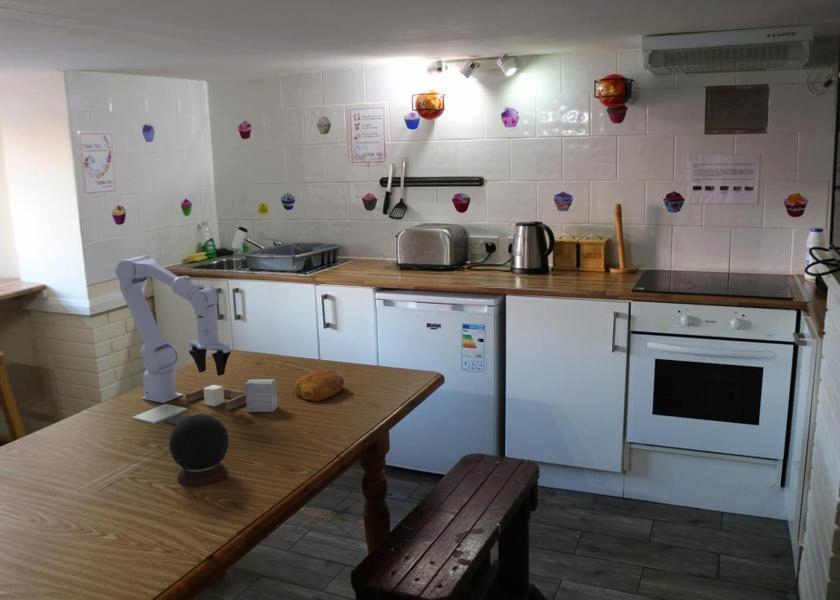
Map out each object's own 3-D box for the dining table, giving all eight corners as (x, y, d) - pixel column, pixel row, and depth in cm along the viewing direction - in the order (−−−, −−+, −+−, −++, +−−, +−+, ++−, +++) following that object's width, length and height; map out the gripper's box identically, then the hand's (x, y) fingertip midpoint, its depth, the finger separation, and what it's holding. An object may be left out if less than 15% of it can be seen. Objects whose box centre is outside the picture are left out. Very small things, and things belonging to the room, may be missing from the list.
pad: (132, 419, 215) (132, 417, 214) (165, 405, 225) (165, 403, 225) (154, 424, 210) (154, 422, 210) (187, 410, 220) (186, 408, 220)
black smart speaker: (243, 469, 179) (237, 409, 176) (206, 493, 167) (200, 429, 164) (199, 461, 184) (193, 403, 181) (160, 483, 173) (153, 422, 170)
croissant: (351, 396, 234) (353, 371, 234) (319, 405, 221) (321, 378, 220) (316, 388, 242) (317, 363, 241) (282, 396, 229) (284, 370, 228)
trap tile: (163, 422, 211) (163, 421, 211) (180, 415, 216) (180, 414, 216) (179, 425, 208) (178, 424, 208) (195, 418, 213) (195, 417, 213)
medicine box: (277, 407, 221) (275, 378, 219) (273, 412, 216) (271, 383, 214) (251, 406, 221) (249, 378, 220) (246, 412, 217) (244, 383, 215)
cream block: (204, 404, 225) (203, 388, 224) (214, 400, 228) (213, 384, 227) (214, 406, 223) (213, 390, 222) (224, 402, 226) (222, 386, 225)
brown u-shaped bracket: (186, 402, 227) (185, 394, 227) (209, 392, 235) (209, 385, 235) (228, 410, 219) (227, 402, 218) (250, 400, 227) (250, 392, 226)
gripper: (179, 329, 221) (184, 373, 224) (215, 334, 214) (219, 380, 217) (197, 324, 227) (201, 367, 230) (233, 328, 220) (237, 373, 223)
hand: (211, 373), depth 224 cm, fingers open, 7 cm apart
